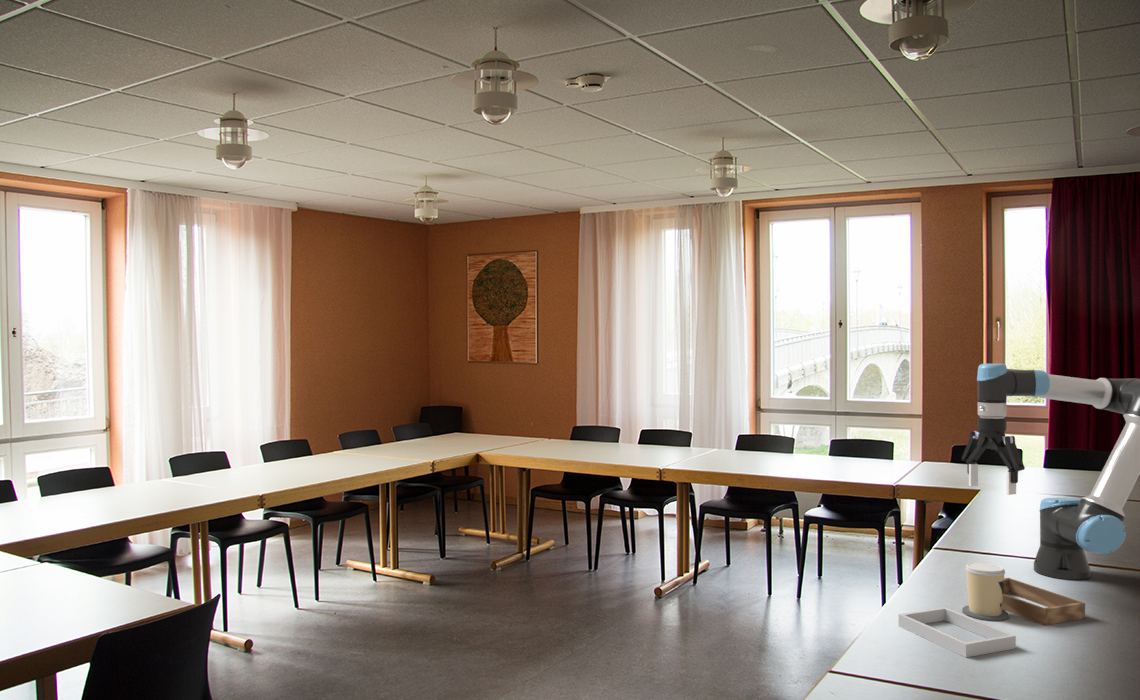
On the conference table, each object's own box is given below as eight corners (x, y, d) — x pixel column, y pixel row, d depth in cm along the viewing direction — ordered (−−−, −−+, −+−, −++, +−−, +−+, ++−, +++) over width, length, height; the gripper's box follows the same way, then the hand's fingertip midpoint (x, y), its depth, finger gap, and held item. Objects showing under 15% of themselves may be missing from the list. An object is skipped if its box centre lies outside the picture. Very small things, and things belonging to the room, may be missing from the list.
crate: (1008, 591, 239) (1008, 577, 239) (1085, 618, 216) (1085, 603, 216) (970, 597, 234) (970, 583, 234) (1044, 625, 212) (1044, 609, 212)
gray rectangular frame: (945, 618, 218) (945, 607, 218) (1015, 648, 197) (1015, 635, 197) (898, 625, 213) (898, 614, 213) (965, 657, 192) (965, 644, 192)
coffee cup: (1009, 618, 215) (1009, 572, 215) (971, 616, 217) (970, 570, 217) (998, 606, 225) (998, 562, 224) (961, 604, 226) (961, 560, 226)
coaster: (984, 605, 228) (984, 602, 228) (1018, 617, 217) (1018, 615, 217) (953, 609, 224) (953, 607, 224) (985, 623, 214) (985, 620, 214)
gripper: (948, 413, 252) (948, 483, 252) (1018, 421, 228) (1018, 498, 229) (968, 412, 254) (968, 481, 255) (1038, 420, 231) (1038, 496, 231)
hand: (991, 490), depth 242 cm, fingers open, 13 cm apart
